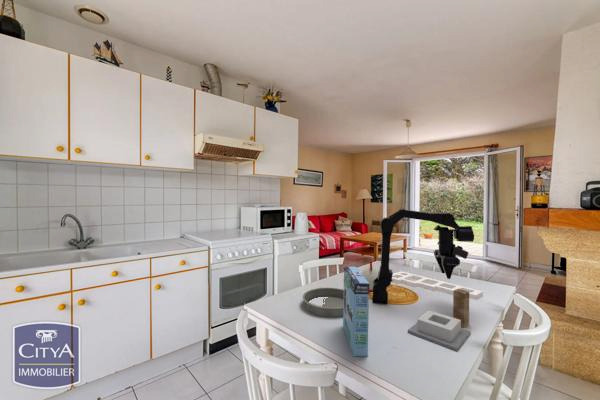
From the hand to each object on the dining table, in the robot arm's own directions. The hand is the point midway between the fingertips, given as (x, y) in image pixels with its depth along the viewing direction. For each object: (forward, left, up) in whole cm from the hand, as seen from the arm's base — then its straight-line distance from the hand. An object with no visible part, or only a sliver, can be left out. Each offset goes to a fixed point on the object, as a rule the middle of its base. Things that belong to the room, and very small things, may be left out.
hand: (445, 275), depth 117 cm
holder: (-1, +29, -15) cm, 33 cm away
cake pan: (-50, -12, -15) cm, 54 cm away
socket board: (-8, -25, -15) cm, 30 cm away
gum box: (-38, -38, -15) cm, 55 cm away
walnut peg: (+2, -15, -15) cm, 21 cm away
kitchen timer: (-32, +17, -15) cm, 39 cm away
